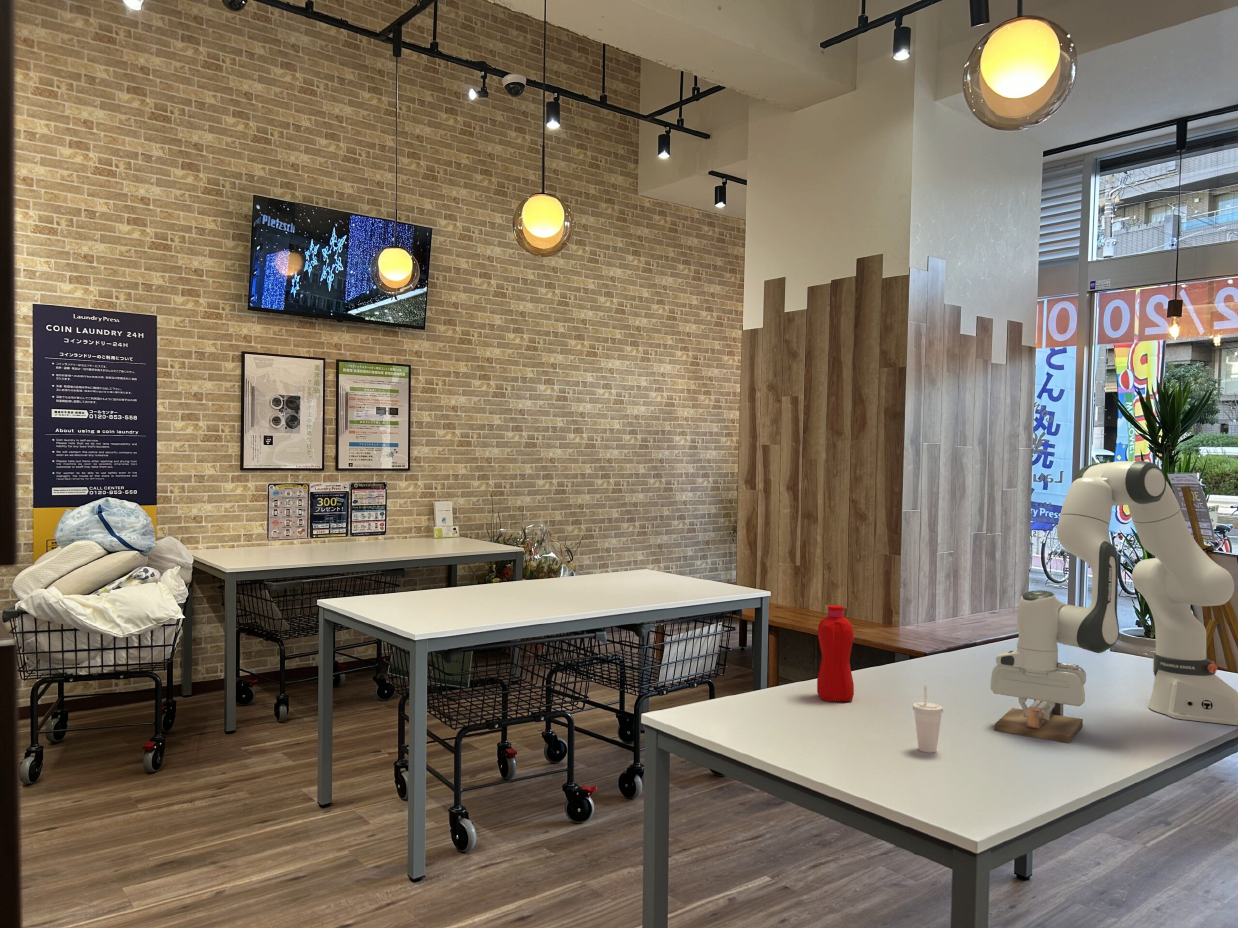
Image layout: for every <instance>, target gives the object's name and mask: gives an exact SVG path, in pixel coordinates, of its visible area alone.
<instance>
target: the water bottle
mask: <svg viewBox="0 0 1238 928" xmlns="http://www.w3.org/2000/svg"><path fill="white" fill-rule="evenodd" d="M817 627H818V628H817V638H818V643H819V648H820V652H821V661H820V665H819V671H818V675H817V681H816V683H817V684H816V693H817V695H818V698H820V699H821V700H823V701H825V702H840V703H841V702H842V703H847V702H851V701H852V700H853V699H854V697H855V696H854V695H855V683H854V678H853V673H852V670H851V664H850V660H851V659H850V658H851V655H852V649H853V648H852V647H853V643H854V638H855V634H854V632H855V631H854V627H853V625H852V623H851V621H849V619H847V618H846V617H845V606H843V605H839V604H831V605H827V616H825V617H824V618H822V619H821V620H820V622H819V624H818V626H817Z"/></svg>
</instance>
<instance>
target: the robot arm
mask: <svg viewBox="0 0 1238 928" xmlns="http://www.w3.org/2000/svg"><path fill="white" fill-rule="evenodd" d="M1061 506H1062V507H1061V511H1060V514H1059V519H1058V522H1057V523H1058V524H1057V529H1056V538H1057V540H1058V541H1059V543H1060V545H1061V547H1062V548H1063V549H1064V550H1065V551H1066V552H1068V553H1069V554H1071V555H1073V556H1074V557H1077V559H1080V560H1082V561H1084V562H1085V563H1086V564H1087V565H1088V566H1089V567H1090V569H1091V572H1092V573H1091V574H1092V578H1091V579H1092V582H1091V602H1090V603H1091V604H1090V605H1089V606H1086V607H1085V606H1081V605H1080V606H1078V605H1072V604H1068V603H1065V602H1063V601H1060V600H1059V599H1058V598H1056V594H1055V593H1053V592H1052V591H1049V590H1041V589H1040V590H1031V591H1027V592H1024V593H1023V594H1021V596H1020V598H1019V602H1018V606H1017V607H1018V608H1017V617H1016V629H1017V633H1018V640H1017V643H1016V649H1015V650H1009V651H1004V652H1001V653H999V654H997V655H996V657H995V663H996V665H995V666H994V667H993V669H992V672H991V677H990V691H991V692H992V693H993V694H995V695H1000V696H1001V695H1002V696H1006V697H1007V696H1009V697H1014V698H1018V703H1019V705H1020V707H1021V709H1023V710H1024V717H1027V708H1028V707H1029V706H1027V704H1026V702H1027V699H1028V700H1033V701H1034V700H1040V701H1046V702H1047V706H1050V707H1049V709H1048V710H1047V711H1043V712H1042V720H1046V721H1049V720H1050V712H1051V711H1052V709H1053V708H1054V706H1055V703H1059V704H1063V705H1068V706H1075V707H1080V706H1082V705H1083V704H1084V703H1085V702H1086V692H1085V686H1084V685H1085V683H1086V682H1087V673H1086V670H1085V669H1083V668H1082V667H1081V666H1079V665H1078V664H1070V663H1069V664H1068V663H1066V662H1065V663H1063V662H1059V646H1058V644H1062V645H1065V646H1069V647H1074V648H1079V649H1083V650H1086V651H1089V652H1093V653H1096V654H1101V653H1104V652H1106V651H1108V650H1110V649H1111V648H1112V647H1113V646H1114V645H1116V643H1117V641H1118V639H1119V636H1120V627H1119V624H1120V623H1119V618H1118V592H1119V591H1118V589H1119V585H1118V584H1119V582H1118V581H1119V558H1118V551H1117V549H1116V548H1117V547H1115V545H1113V544H1111V541H1110V536H1109V533H1110V524H1111V518H1112V512H1113V511H1112V510H1113V506H1116V507H1117V506H1119V507H1121V506H1127V508H1128V511H1129V515H1130V517H1131V521H1132V523H1133V527H1134V529H1135V530H1136V534H1137V536H1138V539H1139V541H1140V544H1141V546H1142V547H1143V548H1144V550H1145V551H1147V553H1150V554H1151V555H1153V556H1154V557H1153V558H1147V559H1142V560H1140V561H1138V562H1137V563H1136V564H1135V566H1134V567H1133V570H1132V573H1131V579H1132V580H1131V581H1132V584H1133V587H1134V588H1135V589H1136V591H1137V592H1139V594H1141V596H1142V597H1143V599H1145V602H1146V603H1147V606H1148V608H1149V609H1150V612H1151V616H1152V618H1153V623H1154V630H1155V631H1154V633H1155V636H1154V637H1155V652H1154V654H1153V658H1152V672H1153V676H1154V678H1153V679H1154V680H1153V686H1152V691H1151V694H1150V695H1151V696H1150V699H1149V703H1148V705H1147V706H1148V709H1150V710H1152V711H1154V712H1157V713H1159V714H1164V715H1167V716H1169V717H1171V718H1173V719H1177V720H1187V721H1193V722H1205V723H1213V724H1214V723H1215V724H1223V725H1229V726H1230V725H1232V726H1238V691H1237V690H1236V689H1235V688H1233V687H1232V686H1231V685H1229V683H1227V682H1225V681H1224V680H1223V679H1221V678H1220V677H1219V676H1217V674H1216V673H1217V671H1218V666H1217V664H1216V663H1215V661H1213V660H1210V659H1209V658H1207V629H1206V627H1205V626H1204V623H1202V622H1201V621H1200V620H1198V618H1196V616H1195V615H1194V613H1193V612H1192V609H1191V607H1190V605H1193V606H1198V607H1212V606H1213V607H1214V606H1222V605H1225V604H1227V603H1228V602H1229V600H1231V598H1232V597H1233V595H1234V591H1235V581H1234V578H1233V576H1232V574H1231V573H1230V572H1229V570H1227V569H1225V567H1224V568H1223V567H1222V566H1221V565H1219V564H1218V563H1216V562H1215V561H1214V560H1213V559H1212V558H1211V557H1209V555H1208V554H1207V553H1205V551H1204V550H1203V549H1202V548H1201V547H1200V545H1199V544H1198V542H1196V540H1195V538H1194V537H1193V535H1192V534H1191V531H1190V530H1189V529H1190V528H1188V525H1187V522H1186V520H1185V517H1184V514H1183V512H1182V510H1181V506H1180V503H1179V502H1178V499H1177V498H1176V495H1175V493H1174V492H1173V489H1172V487H1171V486H1170V484H1169V483H1168V481H1167V478H1166V475H1165V473H1164V471H1163V469H1161V468H1160V467H1159V465H1157V464H1156V463H1154V462H1150V461H1145V460H1137V461H1133V460H1128V461H1127V460H1118V461H1117V460H1116V461H1113V462H1105V463H1099V464H1098V463H1093V464H1089V465H1086V466H1083V467H1082V468H1080V469H1079V470H1078V471H1077V473H1076V474H1075V476H1074V479H1073V482H1072V483H1071V485H1070V486H1069V488H1068V490H1067V493H1066V495H1065V498H1064V501H1063V503H1062V505H1061Z"/></svg>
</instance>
